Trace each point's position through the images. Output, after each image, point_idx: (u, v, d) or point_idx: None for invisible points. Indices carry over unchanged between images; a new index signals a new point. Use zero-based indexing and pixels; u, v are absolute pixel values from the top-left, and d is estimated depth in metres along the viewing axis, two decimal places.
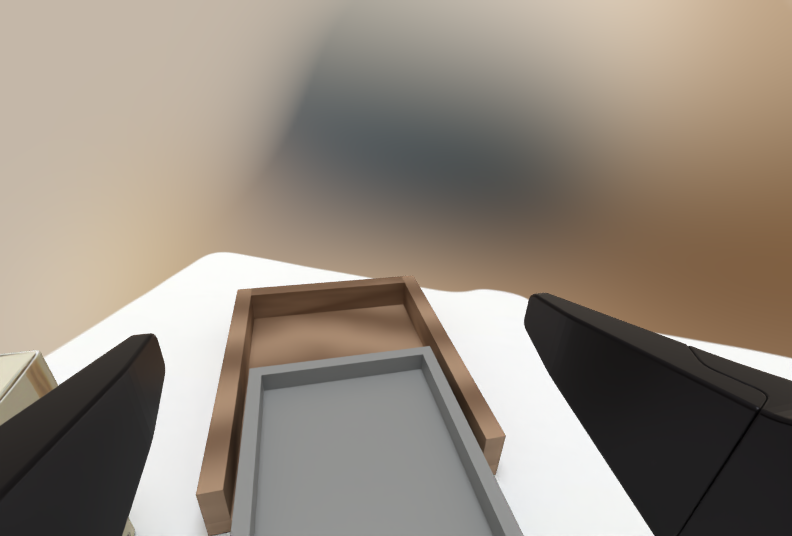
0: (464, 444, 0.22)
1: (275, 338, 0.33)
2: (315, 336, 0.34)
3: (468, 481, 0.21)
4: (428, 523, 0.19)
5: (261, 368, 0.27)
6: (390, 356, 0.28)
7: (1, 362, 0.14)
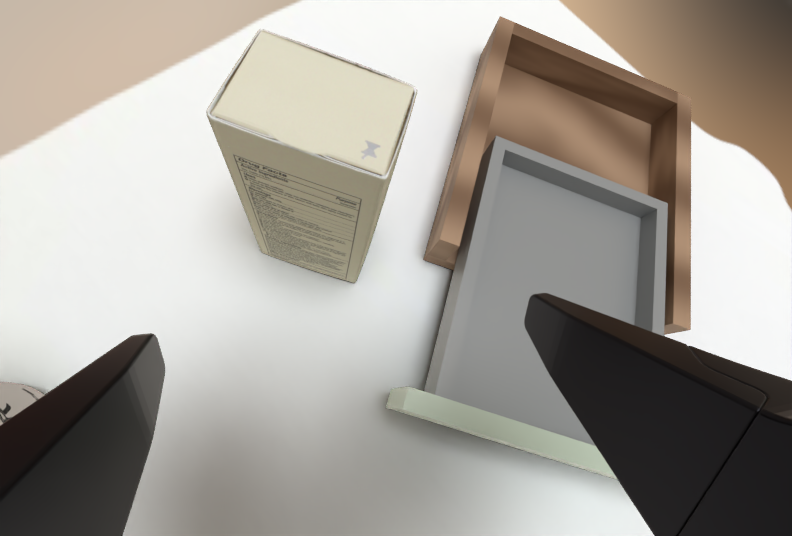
0: (653, 317, 0.24)
1: (512, 100, 0.30)
2: (550, 118, 0.30)
3: None
4: None
5: (505, 140, 0.26)
6: (626, 194, 0.26)
7: (389, 88, 0.14)
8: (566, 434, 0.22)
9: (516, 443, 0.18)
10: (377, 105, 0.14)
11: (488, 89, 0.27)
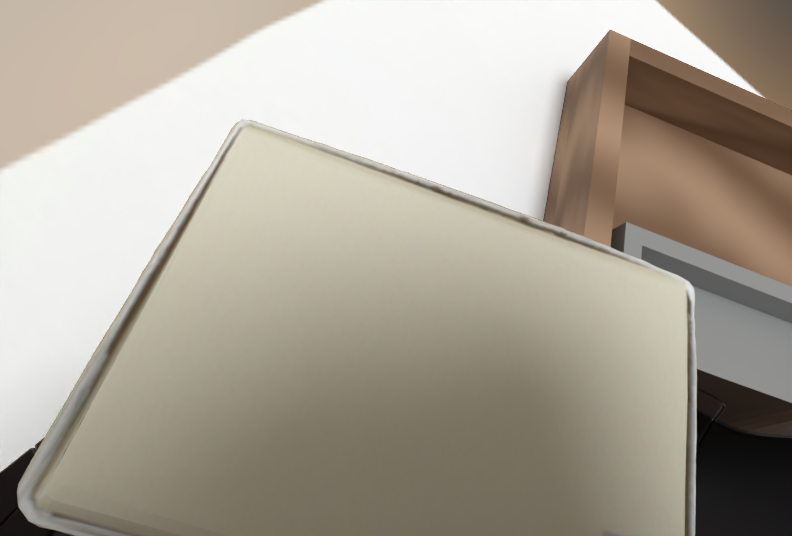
0: None
1: (621, 151, 0.21)
2: (674, 177, 0.21)
3: None
4: None
5: (640, 228, 0.16)
6: None
7: (628, 298, 0.05)
8: None
9: None
10: (610, 368, 0.04)
11: (606, 145, 0.17)
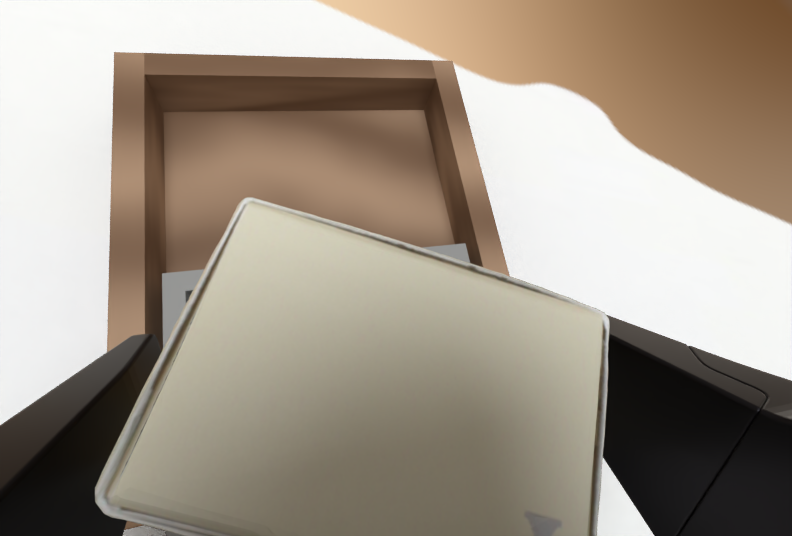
0: None
1: (207, 167, 0.20)
2: (276, 169, 0.20)
3: None
4: None
5: (183, 272, 0.15)
6: None
7: (553, 329, 0.06)
8: None
9: None
10: (536, 387, 0.06)
11: (126, 195, 0.16)
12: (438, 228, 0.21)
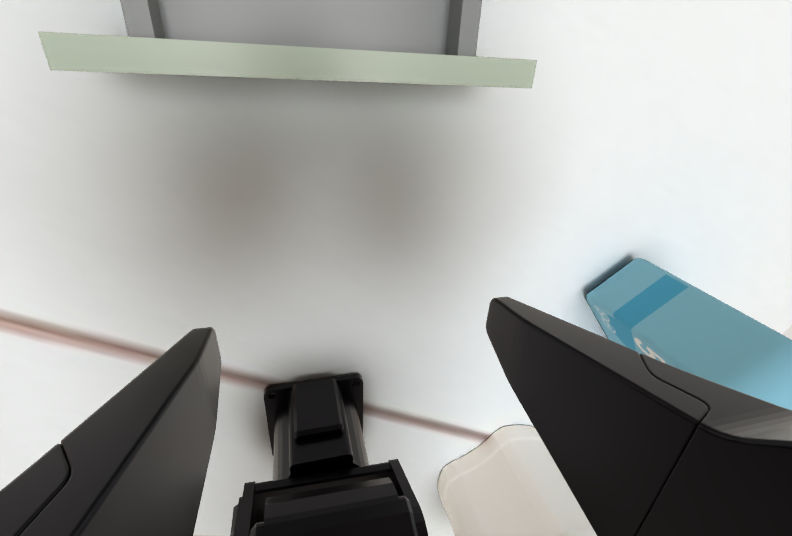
0: None
1: None
2: None
3: None
4: None
5: None
6: None
7: None
8: (360, 40, 0.16)
9: (242, 75, 0.13)
10: None
11: None
12: None
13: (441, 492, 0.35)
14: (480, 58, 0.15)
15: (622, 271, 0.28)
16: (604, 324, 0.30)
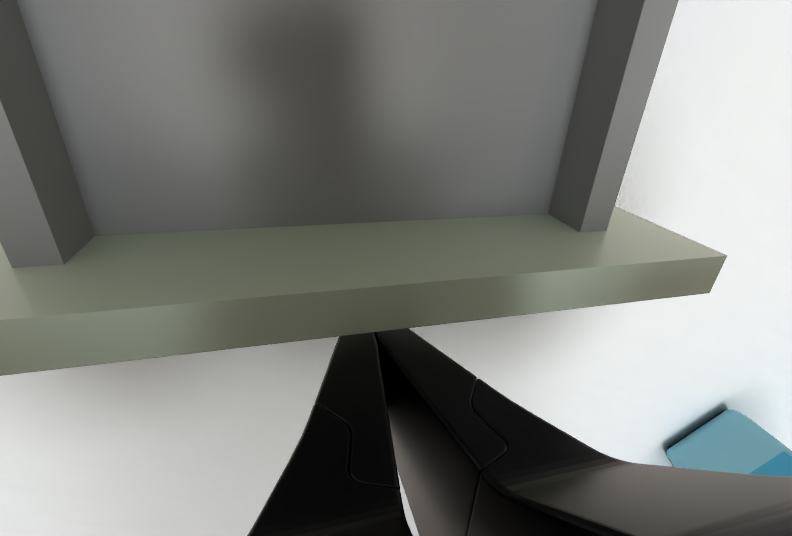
0: None
1: None
2: None
3: None
4: None
5: None
6: None
7: None
8: (421, 204, 0.10)
9: (225, 347, 0.07)
10: None
11: None
12: None
13: None
14: (641, 265, 0.08)
15: (716, 429, 0.22)
16: None
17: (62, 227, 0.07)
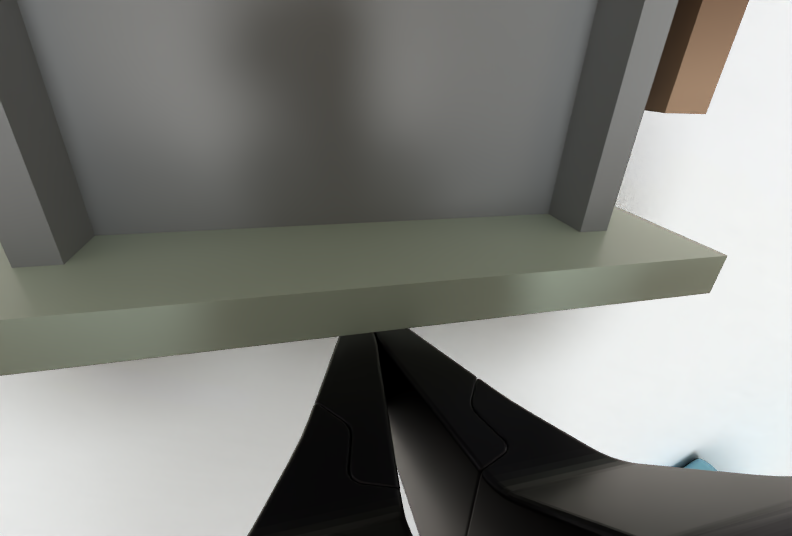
0: None
1: None
2: None
3: None
4: None
5: None
6: None
7: None
8: (421, 204, 0.10)
9: (225, 347, 0.07)
10: None
11: None
12: None
13: None
14: (642, 265, 0.08)
15: None
16: None
17: (62, 227, 0.07)
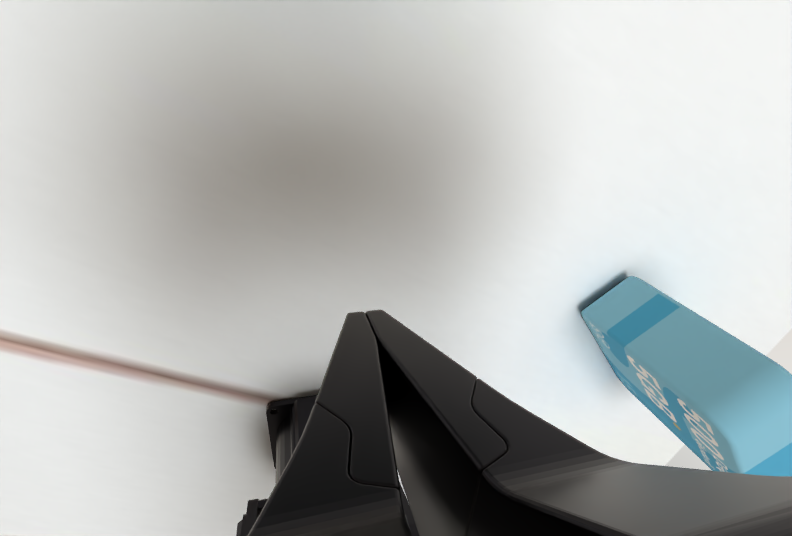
0: None
1: None
2: None
3: None
4: None
5: None
6: None
7: None
8: None
9: None
10: None
11: None
12: None
13: None
14: None
15: (616, 289, 0.28)
16: (599, 339, 0.30)
17: None
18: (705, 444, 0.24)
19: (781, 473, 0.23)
